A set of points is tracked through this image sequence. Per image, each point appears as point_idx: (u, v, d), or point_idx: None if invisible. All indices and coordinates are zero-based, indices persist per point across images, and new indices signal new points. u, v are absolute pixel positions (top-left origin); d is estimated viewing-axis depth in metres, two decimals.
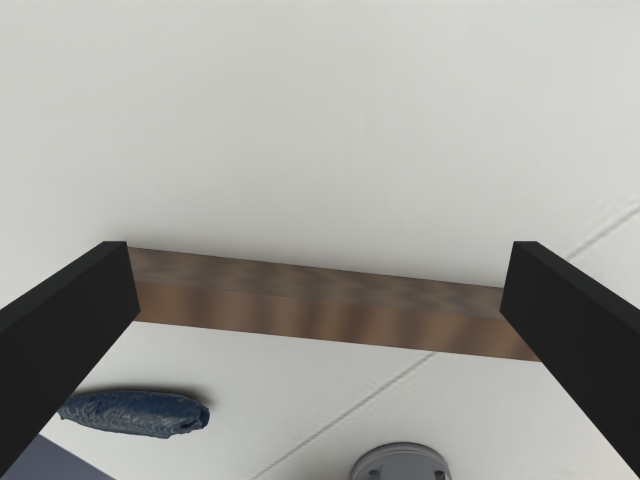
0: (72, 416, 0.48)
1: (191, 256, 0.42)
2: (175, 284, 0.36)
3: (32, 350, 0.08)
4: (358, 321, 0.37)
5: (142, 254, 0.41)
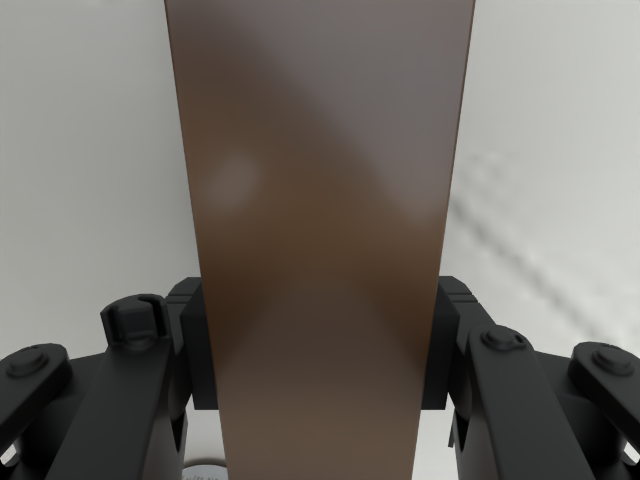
0: None
1: None
2: None
3: None
4: None
5: None
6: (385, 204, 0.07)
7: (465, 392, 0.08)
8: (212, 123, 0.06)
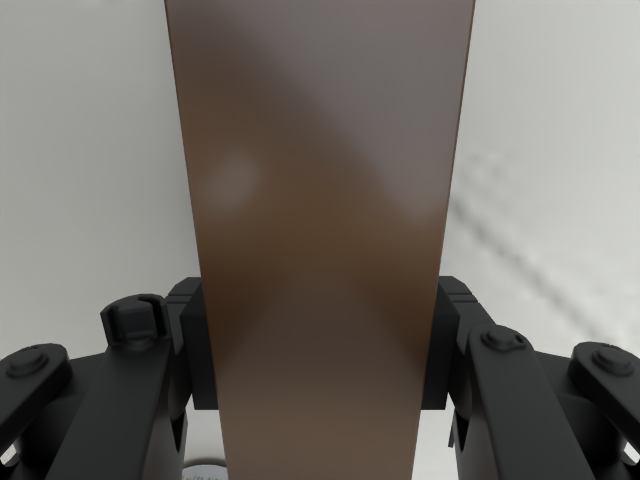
0: None
1: None
2: None
3: None
4: None
5: None
6: (386, 204, 0.07)
7: (465, 392, 0.08)
8: (212, 123, 0.06)
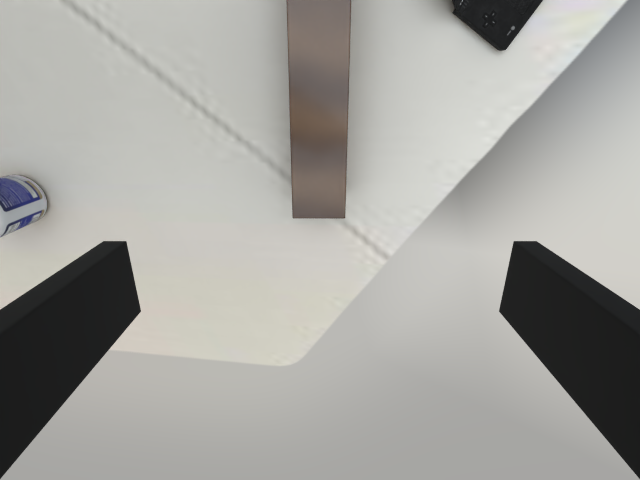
0: None
1: None
2: None
3: (32, 350, 0.08)
4: None
5: None
6: (333, 118, 0.29)
7: None
8: (296, 99, 0.29)
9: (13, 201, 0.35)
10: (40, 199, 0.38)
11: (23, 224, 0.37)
